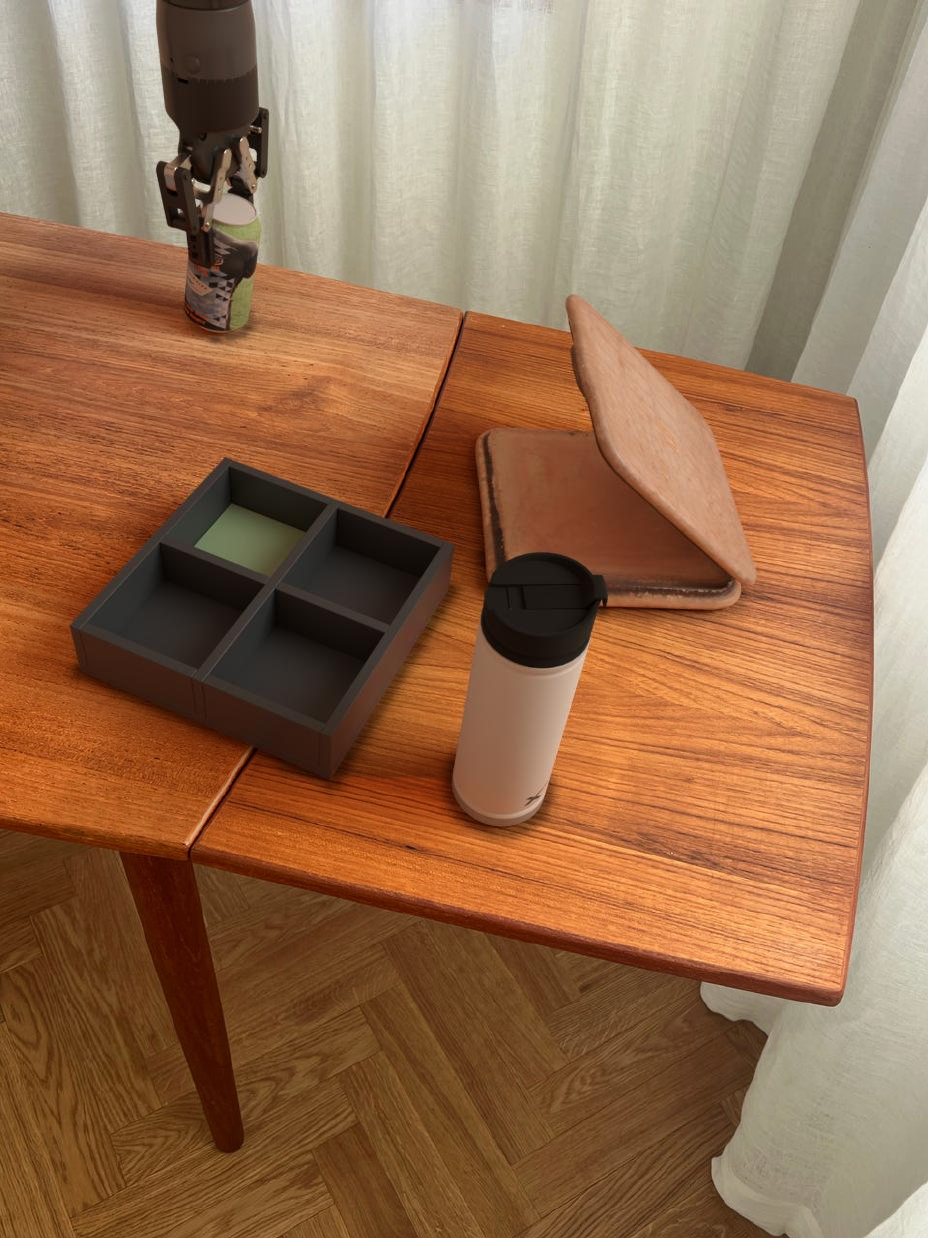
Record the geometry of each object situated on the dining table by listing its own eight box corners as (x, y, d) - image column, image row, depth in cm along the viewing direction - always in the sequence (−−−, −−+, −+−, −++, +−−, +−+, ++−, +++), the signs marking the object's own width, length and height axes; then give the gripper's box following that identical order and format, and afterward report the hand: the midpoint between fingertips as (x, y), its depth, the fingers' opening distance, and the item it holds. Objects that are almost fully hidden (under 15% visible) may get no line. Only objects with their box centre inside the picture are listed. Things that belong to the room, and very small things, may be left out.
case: (753, 617, 87) (824, 461, 75) (487, 610, 84) (516, 447, 72) (702, 446, 100) (756, 290, 88) (471, 435, 98) (494, 274, 86)
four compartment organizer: (80, 672, 77) (68, 625, 73) (228, 504, 89) (225, 456, 85) (330, 780, 73) (331, 737, 69) (448, 589, 86) (455, 544, 82)
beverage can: (180, 305, 106) (168, 187, 97) (257, 298, 108) (252, 182, 99) (191, 344, 102) (179, 225, 93) (270, 336, 104) (267, 219, 95)
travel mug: (554, 828, 73) (617, 630, 58) (454, 829, 72) (491, 629, 57) (543, 748, 77) (600, 544, 62) (448, 748, 76) (482, 541, 61)
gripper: (215, 11, 92) (228, 200, 105) (113, 74, 83) (140, 272, 96) (295, 34, 91) (299, 223, 103) (199, 101, 82) (216, 299, 94)
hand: (222, 246), depth 100 cm, fingers closed on beverage can, 6 cm apart
